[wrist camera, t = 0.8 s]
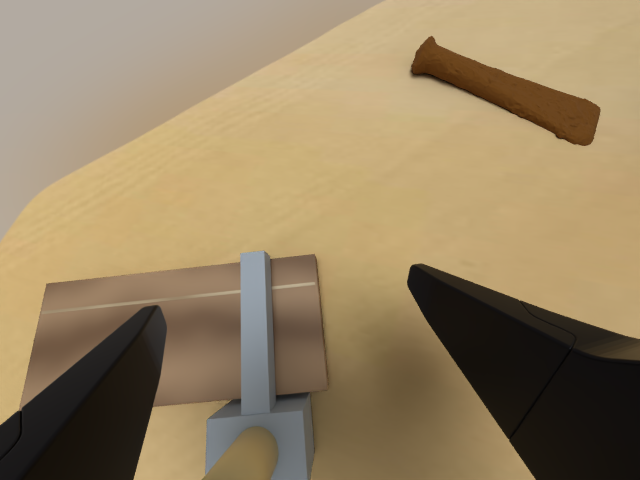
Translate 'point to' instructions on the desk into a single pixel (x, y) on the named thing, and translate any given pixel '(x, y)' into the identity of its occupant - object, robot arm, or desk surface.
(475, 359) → the robot arm
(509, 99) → the primitive tool
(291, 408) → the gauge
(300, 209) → the desk surface
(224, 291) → the board
